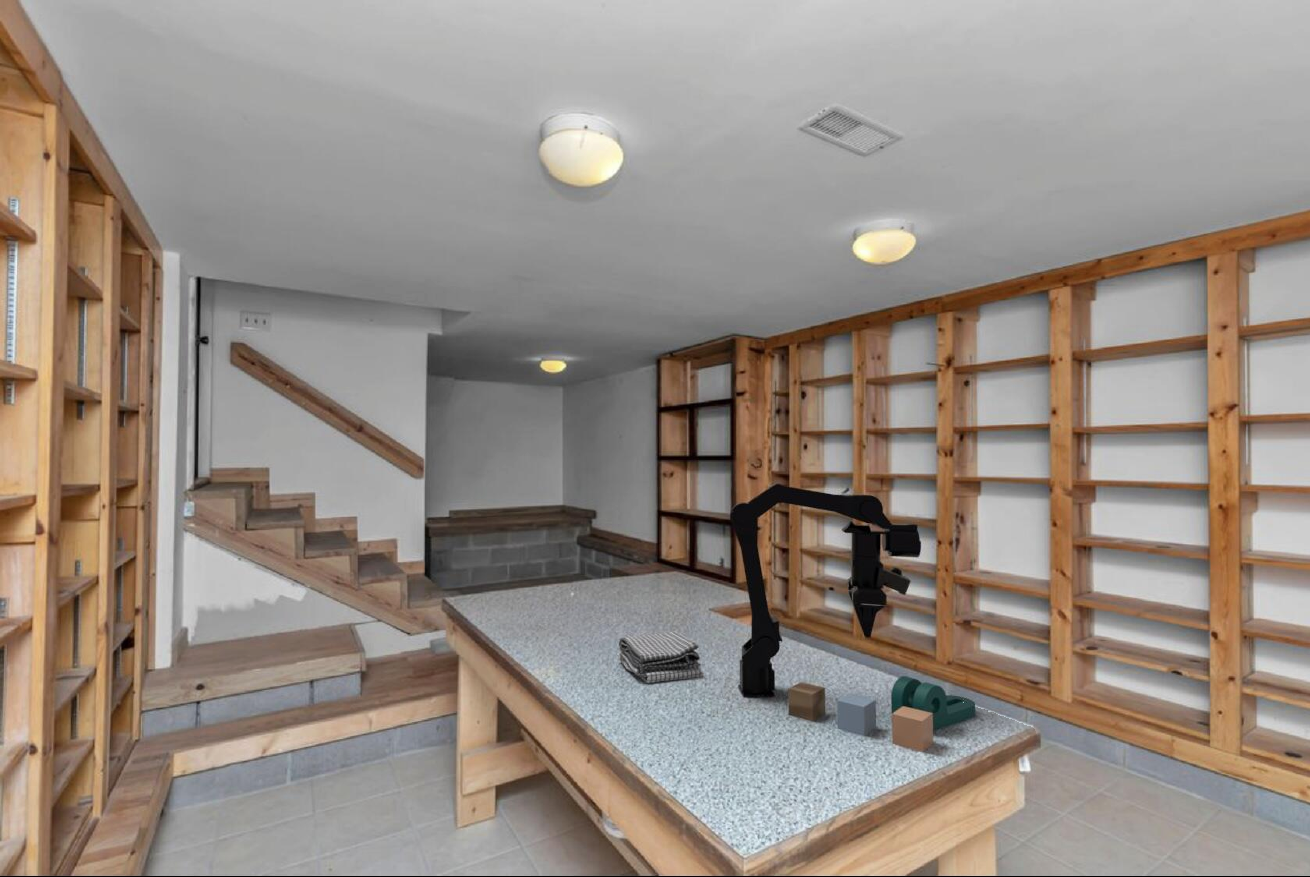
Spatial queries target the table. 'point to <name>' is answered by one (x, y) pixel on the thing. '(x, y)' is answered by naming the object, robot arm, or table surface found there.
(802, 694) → the walnut cube
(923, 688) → the bracket
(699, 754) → the table surface
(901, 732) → the terracotta cube
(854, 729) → the blue cube
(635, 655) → the towel
